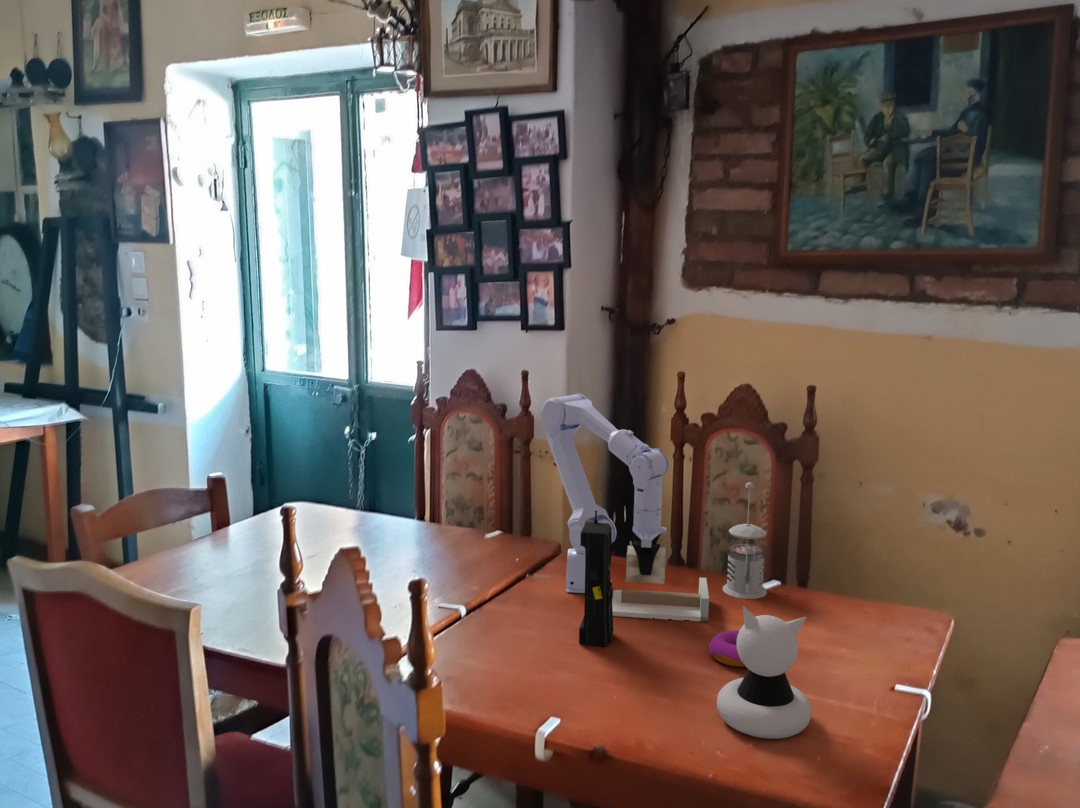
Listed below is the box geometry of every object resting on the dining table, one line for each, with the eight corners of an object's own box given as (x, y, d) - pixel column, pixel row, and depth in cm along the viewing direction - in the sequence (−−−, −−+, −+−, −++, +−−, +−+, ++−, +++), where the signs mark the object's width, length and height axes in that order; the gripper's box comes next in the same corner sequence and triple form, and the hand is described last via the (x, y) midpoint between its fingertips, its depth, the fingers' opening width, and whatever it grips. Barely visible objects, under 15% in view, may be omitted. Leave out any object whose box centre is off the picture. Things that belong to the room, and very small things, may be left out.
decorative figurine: (793, 697, 152) (800, 586, 148) (823, 744, 137) (831, 622, 134) (707, 698, 151) (712, 586, 148) (728, 745, 137) (734, 622, 133)
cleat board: (610, 615, 185) (610, 592, 184) (613, 594, 197) (614, 572, 196) (707, 621, 182) (708, 598, 181) (705, 599, 194) (706, 577, 193)
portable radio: (609, 650, 169) (611, 523, 165) (577, 647, 170) (579, 521, 166) (614, 632, 177) (616, 511, 172) (584, 630, 178) (586, 509, 174)
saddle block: (626, 581, 186) (626, 554, 185) (627, 572, 192) (627, 545, 191) (664, 583, 185) (665, 556, 184) (664, 574, 191) (665, 547, 190)
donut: (738, 643, 173) (739, 621, 172) (777, 664, 164) (778, 641, 163) (698, 655, 167) (699, 632, 167) (736, 677, 159) (737, 653, 158)
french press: (763, 583, 204) (769, 477, 199) (771, 603, 192) (777, 491, 188) (720, 581, 205) (724, 476, 200) (725, 600, 193) (730, 489, 189)
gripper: (667, 518, 178) (664, 582, 181) (666, 498, 193) (665, 558, 195) (631, 516, 179) (630, 580, 182) (634, 497, 194) (632, 557, 196)
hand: (645, 569), depth 188 cm, fingers closed on saddle block, 6 cm apart
